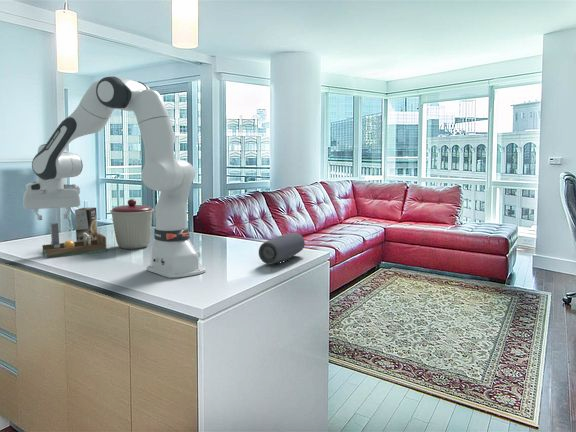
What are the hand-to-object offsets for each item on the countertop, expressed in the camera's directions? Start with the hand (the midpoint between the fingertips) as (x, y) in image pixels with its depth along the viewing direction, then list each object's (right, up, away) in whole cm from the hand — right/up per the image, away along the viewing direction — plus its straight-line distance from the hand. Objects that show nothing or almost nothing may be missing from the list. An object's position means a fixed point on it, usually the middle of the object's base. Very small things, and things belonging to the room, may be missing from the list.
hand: (53, 219), depth 178 cm
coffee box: (+4, -12, +22) cm, 25 cm away
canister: (+27, -13, +16) cm, 34 cm away
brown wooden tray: (+6, -14, +6) cm, 16 cm away
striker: (0, -13, +2) cm, 13 cm away
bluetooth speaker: (+92, -16, -6) cm, 94 cm away
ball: (+4, -11, +4) cm, 12 cm away
